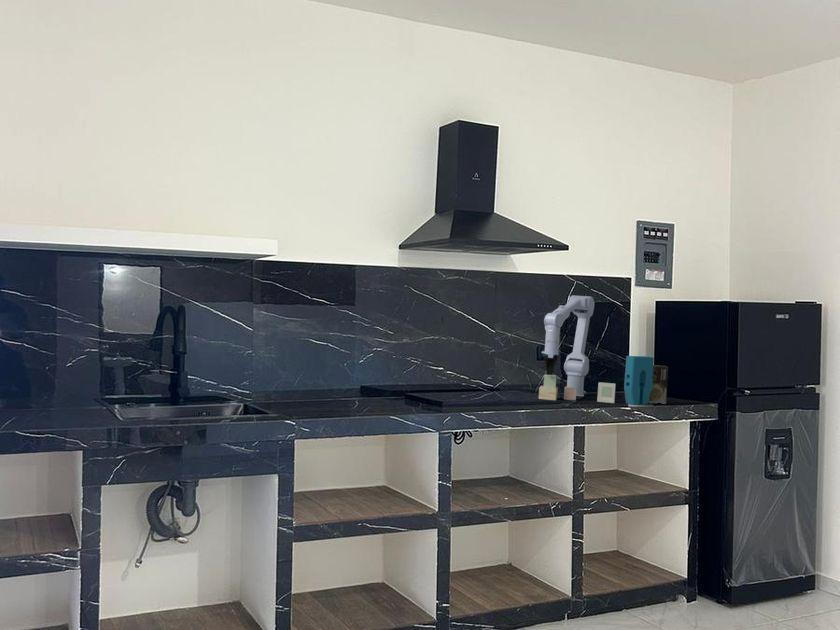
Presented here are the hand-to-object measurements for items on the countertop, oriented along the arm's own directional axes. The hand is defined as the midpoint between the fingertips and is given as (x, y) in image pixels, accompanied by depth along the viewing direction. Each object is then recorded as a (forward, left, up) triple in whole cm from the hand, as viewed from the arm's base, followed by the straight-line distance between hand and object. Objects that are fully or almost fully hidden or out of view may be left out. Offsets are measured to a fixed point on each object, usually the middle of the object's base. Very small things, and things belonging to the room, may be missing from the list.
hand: (549, 373), depth 368 cm
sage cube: (0, 0, -6) cm, 6 cm away
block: (-9, +37, -11) cm, 39 cm away
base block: (0, 0, -11) cm, 11 cm away
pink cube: (-5, +9, -10) cm, 15 cm away
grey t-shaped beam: (-6, +24, -10) cm, 27 cm away
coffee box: (-19, +45, -11) cm, 50 cm away
